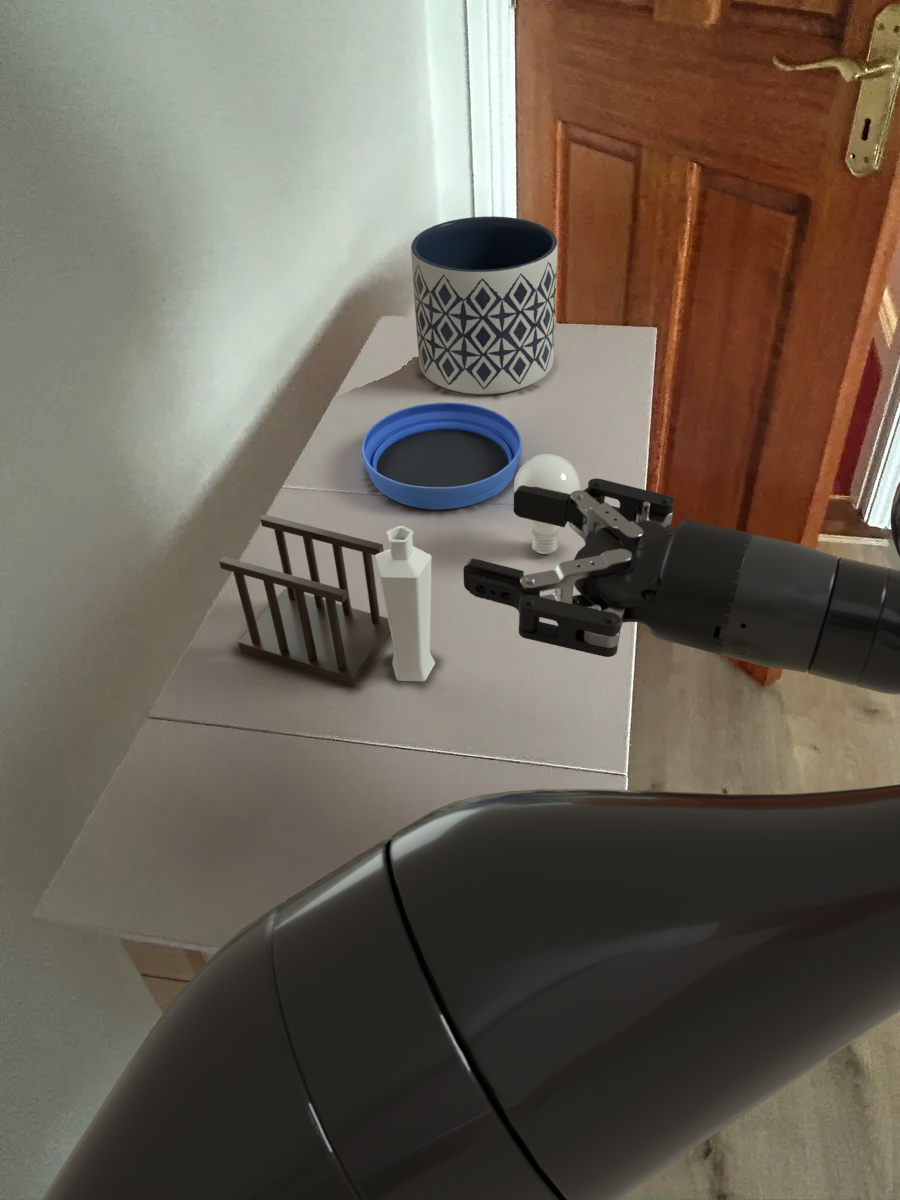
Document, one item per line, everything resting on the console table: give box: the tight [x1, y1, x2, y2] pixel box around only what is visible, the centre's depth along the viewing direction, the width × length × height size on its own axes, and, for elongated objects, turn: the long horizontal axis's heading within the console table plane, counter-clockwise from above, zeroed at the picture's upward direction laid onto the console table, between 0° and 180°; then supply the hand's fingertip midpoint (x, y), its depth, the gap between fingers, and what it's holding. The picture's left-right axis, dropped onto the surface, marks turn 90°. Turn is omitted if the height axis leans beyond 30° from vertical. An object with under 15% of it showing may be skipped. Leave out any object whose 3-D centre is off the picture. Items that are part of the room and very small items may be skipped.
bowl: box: [361, 402, 523, 510], centre depth 104 cm, size 18×18×4 cm
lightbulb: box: [513, 453, 581, 555], centre depth 89 cm, size 6×6×11 cm
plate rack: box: [219, 514, 391, 688], centre depth 81 cm, size 12×8×10 cm, turn 66°
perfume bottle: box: [374, 525, 436, 682], centre depth 76 cm, size 5×4×15 cm
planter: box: [410, 215, 559, 395], centre depth 118 cm, size 18×18×16 cm
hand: (491, 535), depth 60 cm, fingers open, 8 cm apart
